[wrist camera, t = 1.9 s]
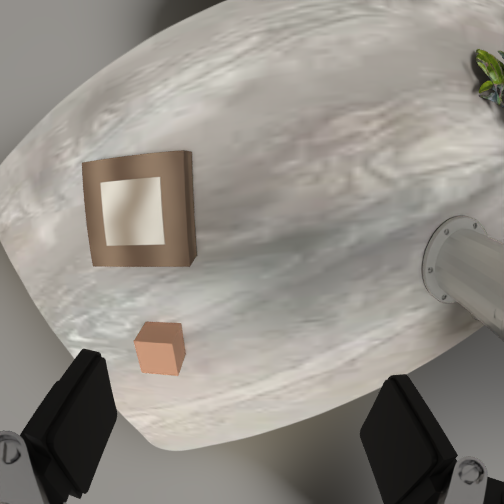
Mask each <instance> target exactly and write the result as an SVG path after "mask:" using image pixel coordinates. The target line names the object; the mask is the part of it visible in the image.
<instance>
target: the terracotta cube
mask: <svg viewBox="0 0 504 504" xmlns="http://www.w3.org/2000/svg"><path fill="white" fill-rule="evenodd" d="M134 344H135V348H136V352H137V356H138V360H139V364H140V368H141V371H142V373H151V374H162V375H175V376H178V375H179V372H180V369H181V366H182V363H183V360H184V357H185V354H186V353H185V346H184V340H183V333H182V326H181V323H163V322H145V324H144V326H143V327H142V329H141V330H140V332H139V333H138V335H137V337H136V338H135V340H134Z"/></svg>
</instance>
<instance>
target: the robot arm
mask: <svg viewBox="0 0 504 504" xmlns="http://www.w3.org/2000/svg"><path fill="white" fill-rule="evenodd" d="M423 279H424V283H425V286H426V288H427V290H428V291H429V293H430V294H431V295H432V296H433V297H434V298H435V299H437V300H438V301H440V302H443V303H454V302H458V303H459V304H461V305H462V306H463V307H464V308H465V309H467V310H468V311H469V312H470V313H471V314H472V316H473V318H474V319H479V320H480V321H481V322H482V323H483V324H484V325H486V326H487V327H488V328H489V329H490V330H491V331H492V332H494V333H495V334H496V335H497V336H498V337H499V338H500V339H501V340H502V341H504V243H502V242H499V241H497V240H495V239H492V238H490V237H488V236H487V234H486V232H485V229H484V228H483V226H482V225H481V224H480V223H479V222H478V221H476V220H475V219H473V218H470V217H466V216H457V217H454V218H451V219H449V220H448V221H446V222H444V223H443V224H442V225H441V226H440V227H439V228H438V229H437V231H436V232H435V233H434V234H433V236H432V238H431V240H430V241H429V244H428V246H427V248H426V251H425V255H424V260H423ZM116 419H117V410H116V406H115V402H114V398H113V393H112V389H111V385H110V380H109V375H108V370H107V365H106V360H105V358H103V357H101V354H100V353H99V352H96V351H92V350H88V349H82V350H81V351H80V353H79V354H78V355H77V357H76V358H75V359H74V361H73V362H72V364H71V365H70V366H69V368H68V369H67V370H66V372H65V373H64V375H63V376H62V378H61V379H60V380H59V381H57V382H56V383H55V384H54V385H53V387H52V388H51V390H50V391H49V393H48V394H47V395H46V397H45V398H44V400H43V401H42V403H41V404H40V406H39V407H38V409H37V410H36V411H35V413H34V414H33V416H32V418H31V419H30V421H29V422H28V424H27V425H26V427H25V428H24V430H23V431H22V433H21V435H18V434H16V433H15V432H12V431H0V504H66V501H67V499H68V496H69V495H71V496H74V497H76V498H79V499H80V498H81V496H82V493H84V494H86V493H87V492H88V490H89V488H90V485H91V482H92V480H93V477H94V474H95V472H96V469H97V466H98V464H99V461H100V459H101V456H102V454H103V451H104V449H105V446H106V444H107V441H108V438H109V436H110V434H111V432H112V429H113V427H114V424H115V422H116ZM360 438H361V440H362V443H363V446H364V449H365V451H366V454H367V457H368V460H369V463H370V465H371V468H372V471H373V474H374V476H375V479H376V482H377V485H378V488H379V491H380V494H381V497H382V500H383V503H384V504H504V482H502V481H499V480H496V479H493V478H490V477H488V476H487V475H488V472H487V468H486V466H485V465H484V463H483V462H482V461H481V460H479V459H478V458H475V457H471V456H467V457H463V458H461V459H459V460H458V461H457V460H456V457H457V456H458V455H457V453H456V451H455V450H454V448H453V446H452V445H451V443H450V441H449V440H448V438H447V436H446V435H445V433H444V432H443V430H442V428H441V427H440V425H439V423H438V422H437V420H436V418H435V417H434V415H433V414H432V412H431V411H430V409H429V407H428V406H427V404H426V403H425V401H424V400H423V399H422V397H421V395H420V394H419V392H418V390H417V389H416V387H415V386H414V384H413V383H412V381H411V380H410V378H409V377H408V376H407V375H405V374H403V375H392V376H390V377H389V378H388V380H386V381H385V382H384V383H383V386H382V388H381V390H380V392H379V394H378V396H377V398H376V400H375V402H374V405H373V407H372V408H371V410H370V412H369V414H368V416H367V418H366V420H365V422H364V424H363V426H362V428H361V430H360Z"/></svg>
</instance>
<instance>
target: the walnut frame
mask: <svg viewBox="0 0 504 504" xmlns="http://www.w3.org/2000/svg"><path fill="white" fill-rule="evenodd" d="M82 175H83V190H84V202H85V212H86V221H87V230H88V237H89V244H90V251H91V257H92V263H93V266H113V267H190V266H191V264H192V262H193V261H194V259H195V257H196V256H197V251H196V236H195V219H194V200H193V175H192V152H190V151H184V150H183V151H170V152H160V153H150V154H140V155H132V156H124V157H116V158H109V159H102V160H96V161H90V162H84V163H82Z"/></svg>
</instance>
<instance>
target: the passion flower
mask: <svg viewBox="0 0 504 504" xmlns="http://www.w3.org/2000/svg"><path fill="white" fill-rule="evenodd" d="M498 52H499V53H500V55H501V56H502V58H503V59H504V52H502V51H498ZM476 54H477V56H476V62H477V64H478V65H479V67H480V68H481V69H482V70H483V71H484V72H485V74H486V75H487V76H488V77H489V78H490V80H491V81H486V82H485V83H483V84H482V85H481V87H480V89H479V93H482V92H484V91H486V90H490V89H492V90H494V91H495V93H490V95H489V96H482V95H479V96H480V97H483V98H485V99H489V100H491V101H493V102H495V103H497V104H498V105H499V106H503V107H504V104H503V102H502V99H501V97H502V96H503V95H504V94H503V93H502V91H503V89H504V64H503V63H502V62H500V61H499V60H498V59H496V58H495V57H494V56H493V55H491V54H489V53H488V52H486V51H484V50H480V49H477V50H476ZM497 87H498V88H499V89H500V93H499V95H498V93H497Z"/></svg>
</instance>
